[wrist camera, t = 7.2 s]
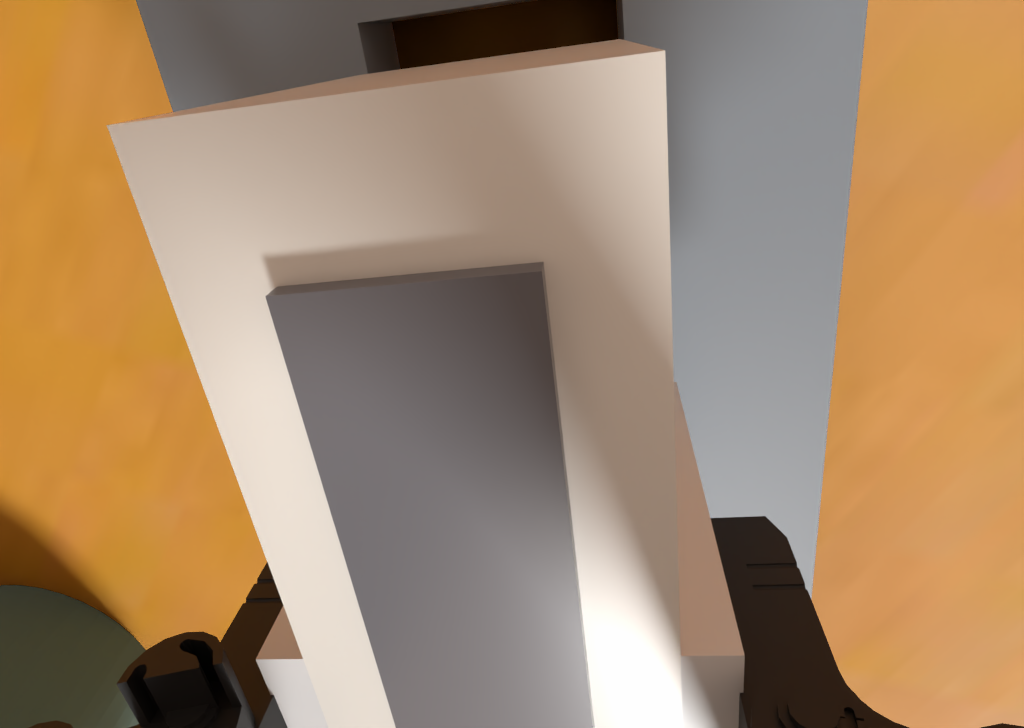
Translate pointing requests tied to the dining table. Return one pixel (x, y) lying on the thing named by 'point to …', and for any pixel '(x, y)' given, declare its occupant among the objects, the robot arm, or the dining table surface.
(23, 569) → the dining table surface
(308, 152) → the block
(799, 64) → the board
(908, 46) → the dining table surface
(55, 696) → the bracket
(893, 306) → the dining table surface
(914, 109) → the dining table surface
